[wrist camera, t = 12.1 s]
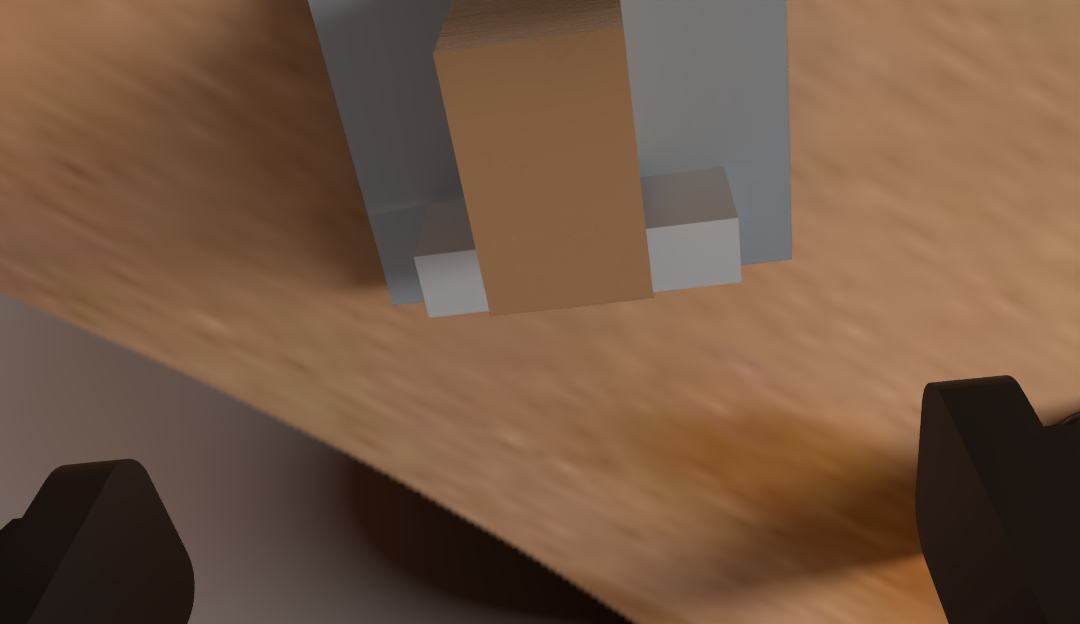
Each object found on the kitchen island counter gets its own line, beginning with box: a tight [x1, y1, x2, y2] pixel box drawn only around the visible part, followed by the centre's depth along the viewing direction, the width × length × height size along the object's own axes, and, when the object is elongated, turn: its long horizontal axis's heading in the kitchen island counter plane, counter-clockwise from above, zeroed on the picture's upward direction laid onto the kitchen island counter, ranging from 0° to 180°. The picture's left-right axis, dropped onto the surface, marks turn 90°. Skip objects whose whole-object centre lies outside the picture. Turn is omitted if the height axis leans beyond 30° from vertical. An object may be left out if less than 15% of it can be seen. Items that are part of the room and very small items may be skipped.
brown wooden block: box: [433, 0, 654, 317], centre depth 20 cm, size 5×3×6 cm, turn 9°
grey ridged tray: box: [308, 0, 792, 318], centre depth 21 cm, size 12×10×4 cm
